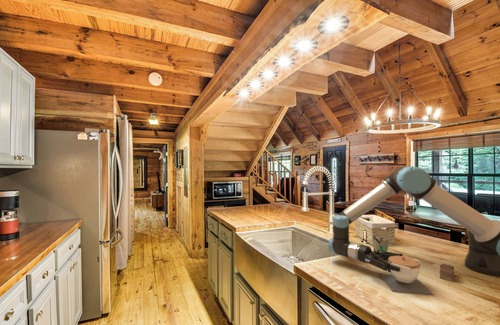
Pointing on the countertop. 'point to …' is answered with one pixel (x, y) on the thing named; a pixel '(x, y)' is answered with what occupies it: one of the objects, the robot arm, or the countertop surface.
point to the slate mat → (405, 285)
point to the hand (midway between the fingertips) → (415, 267)
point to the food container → (380, 243)
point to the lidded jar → (407, 263)
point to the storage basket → (375, 228)
